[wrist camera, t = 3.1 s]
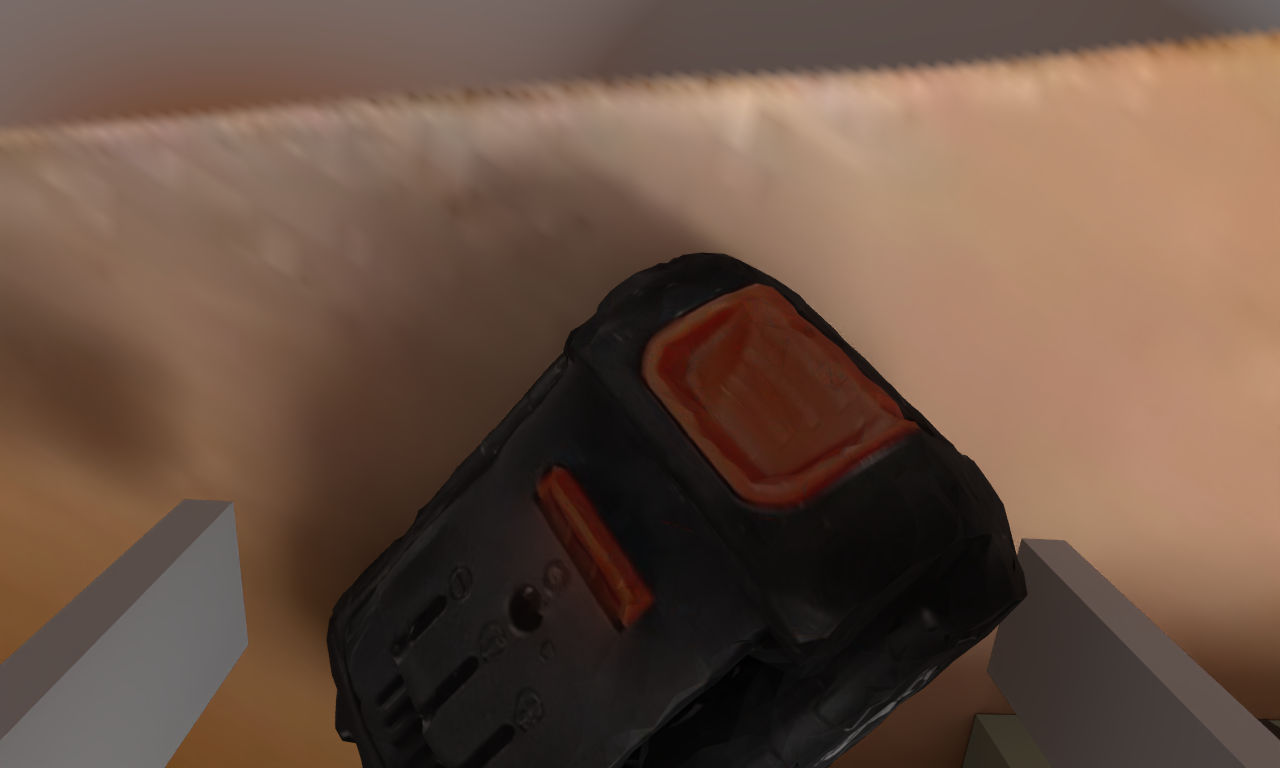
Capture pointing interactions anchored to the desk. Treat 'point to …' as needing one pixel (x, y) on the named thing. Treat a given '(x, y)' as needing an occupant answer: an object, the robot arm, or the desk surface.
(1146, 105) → the desk surface
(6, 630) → the desk surface
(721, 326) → the battery
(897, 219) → the desk surface
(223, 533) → the robot arm
